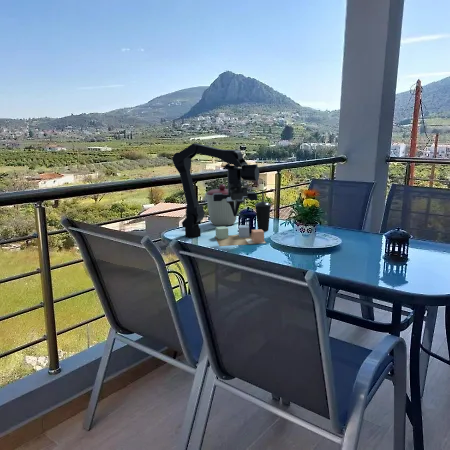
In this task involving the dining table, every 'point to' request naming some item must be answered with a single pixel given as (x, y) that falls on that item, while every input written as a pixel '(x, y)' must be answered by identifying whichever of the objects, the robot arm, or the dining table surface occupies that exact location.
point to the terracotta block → (258, 235)
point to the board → (236, 240)
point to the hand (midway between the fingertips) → (234, 216)
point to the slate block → (243, 231)
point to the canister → (220, 208)
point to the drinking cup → (263, 214)
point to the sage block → (222, 232)
